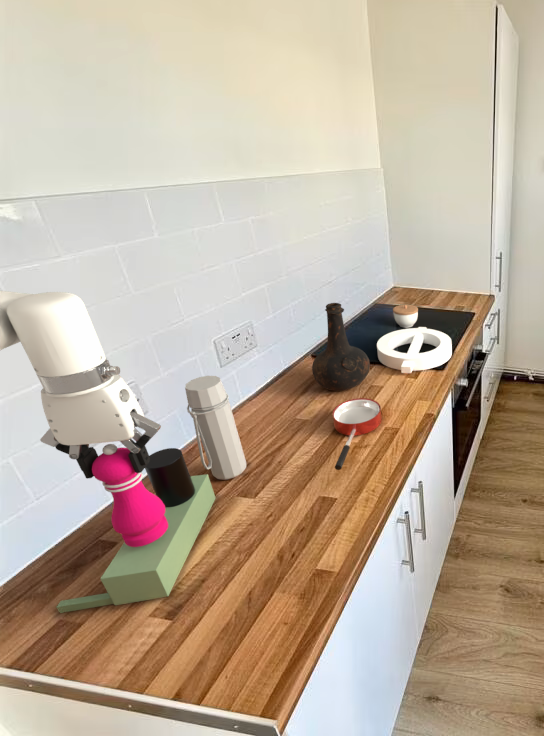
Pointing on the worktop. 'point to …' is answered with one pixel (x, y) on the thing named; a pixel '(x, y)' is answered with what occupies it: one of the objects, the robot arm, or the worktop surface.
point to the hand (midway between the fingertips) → (118, 469)
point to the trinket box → (405, 315)
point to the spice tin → (170, 477)
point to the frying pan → (355, 421)
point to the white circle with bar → (414, 349)
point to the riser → (152, 556)
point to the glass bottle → (339, 356)
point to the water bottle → (215, 427)
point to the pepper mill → (130, 498)
